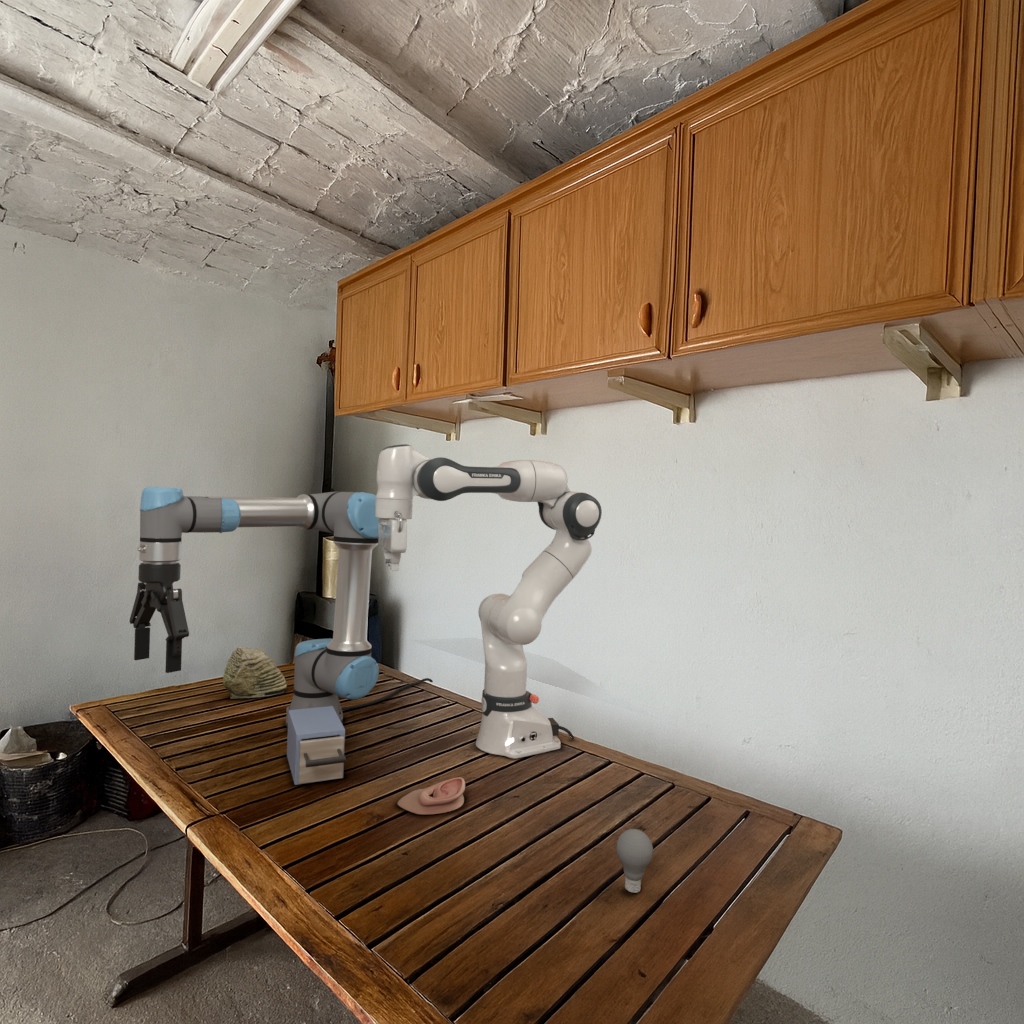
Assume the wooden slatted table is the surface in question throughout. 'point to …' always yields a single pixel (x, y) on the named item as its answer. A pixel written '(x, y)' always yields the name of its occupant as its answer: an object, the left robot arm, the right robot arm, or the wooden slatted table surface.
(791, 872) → the wooden slatted table surface
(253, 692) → the fossil
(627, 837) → the light bulb
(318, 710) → the cabinet
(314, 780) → the drawer
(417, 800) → the anatomical model
